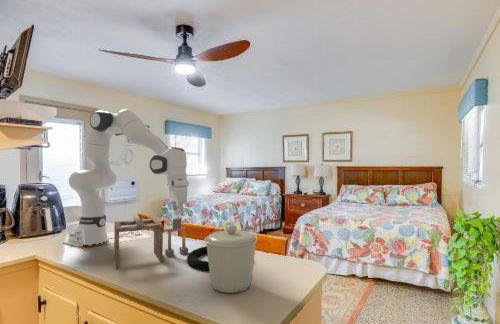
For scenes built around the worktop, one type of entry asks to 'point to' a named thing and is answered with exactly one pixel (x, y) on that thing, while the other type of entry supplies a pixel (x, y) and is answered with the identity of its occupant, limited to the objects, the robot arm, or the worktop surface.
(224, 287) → the canister
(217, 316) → the worktop surface
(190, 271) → the worktop surface
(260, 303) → the worktop surface
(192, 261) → the cable lock
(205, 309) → the worktop surface
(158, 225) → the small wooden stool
